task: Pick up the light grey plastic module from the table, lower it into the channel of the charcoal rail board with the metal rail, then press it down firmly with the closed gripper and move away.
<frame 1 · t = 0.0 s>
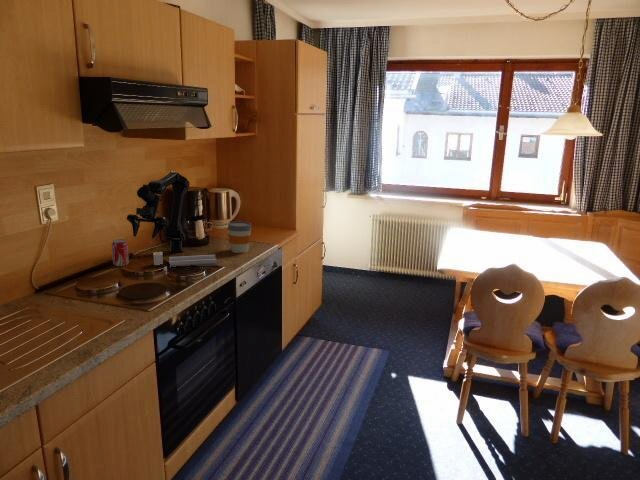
hand: (143, 237, 218), 15 cm above the countertop, tool tilted 35°, fingers open, 9 cm apart
reusable coffee cup: (239, 251, 257), on the countertop
module: (158, 265, 226), on the countertop
rail: (193, 264, 230), on the countertop
soda can: (121, 265, 225), on the countertop
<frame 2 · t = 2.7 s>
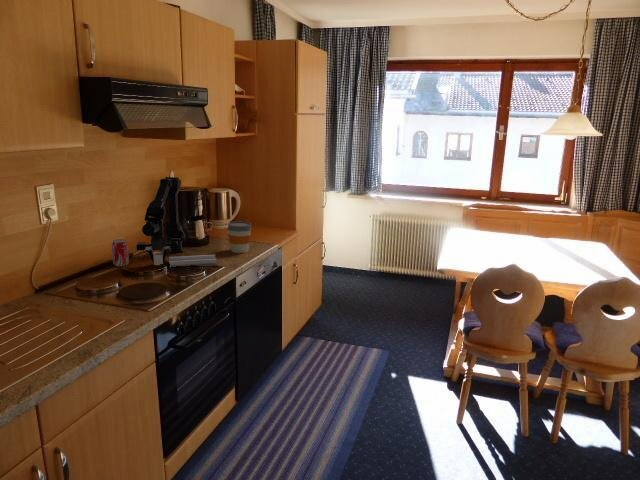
hand: (158, 262, 226), 1 cm above the countertop, tool pointing down, fingers closed on module, 4 cm apart
module: (158, 265, 226), on the countertop, touching gripper
everything else where it was.
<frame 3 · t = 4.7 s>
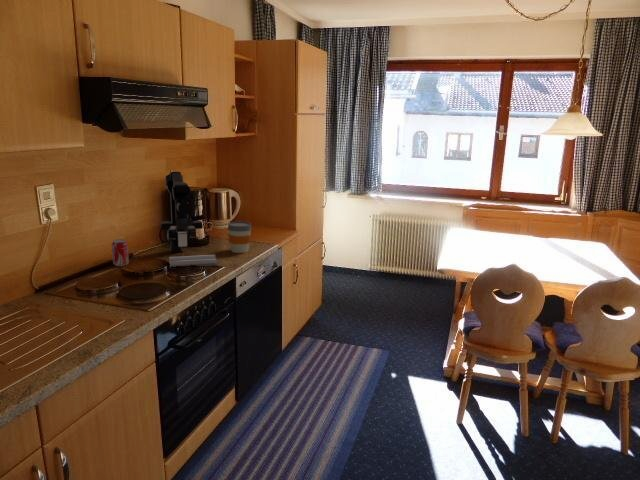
hand: (182, 242, 227), 11 cm above the countertop, tool pointing down, fingers closed on module, 4 cm apart
module: (182, 245, 227), point 10 cm above the countertop, touching gripper
everything else where it was.
when the fingers open (3 cm above the countertop, at t = 6.8 s): module stays where it is, resting on rail.
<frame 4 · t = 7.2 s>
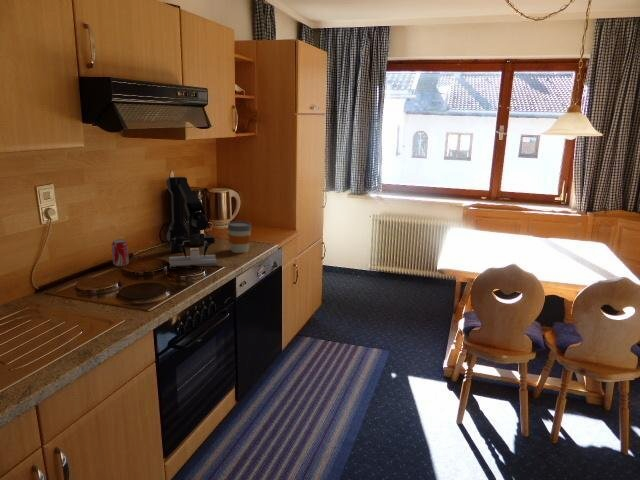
hand: (194, 257, 230), 3 cm above the countertop, tool pointing down, fingers open, 8 cm apart
module: (195, 261, 230), point 1 cm above the countertop, touching rail
everything else where it was.
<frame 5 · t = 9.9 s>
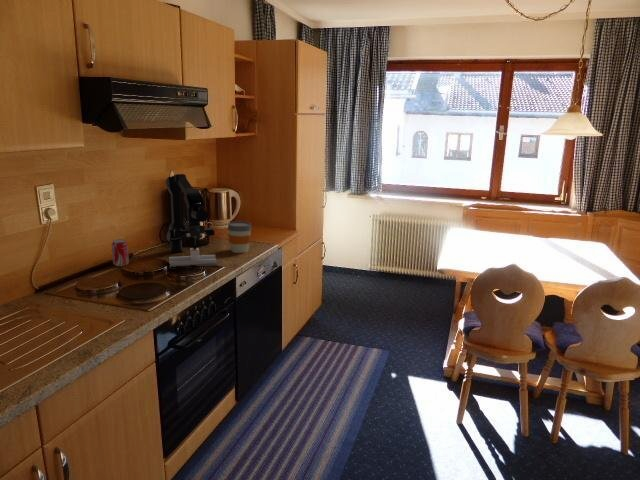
hand: (194, 249, 229), 7 cm above the countertop, tool pointing down, fingers closed, pressing on module
module: (195, 261, 230), point 1 cm above the countertop, touching gripper, rail
everything else where it was.
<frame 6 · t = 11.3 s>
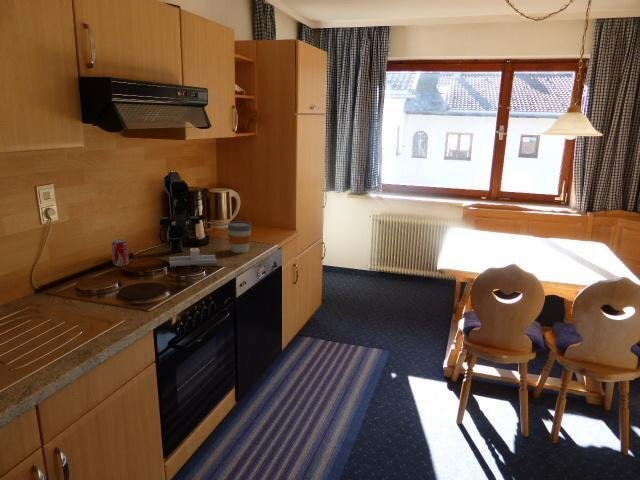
hand: (180, 237, 234), 12 cm above the countertop, tool pointing down, fingers closed
module: (195, 261, 230), point 1 cm above the countertop, touching rail
everything else where it was.
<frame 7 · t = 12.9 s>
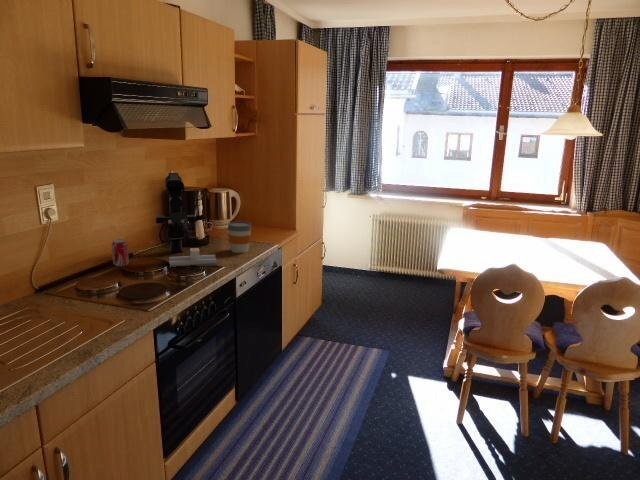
hand: (176, 235, 234), 12 cm above the countertop, tool pointing down, fingers closed
nothing on the countertop moved.
at the end: module inside the target area on the rail (1.0 cm from its centre), point 1.3 cm above the rail's base; module tilted 0°; the gripper is holding nothing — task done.
